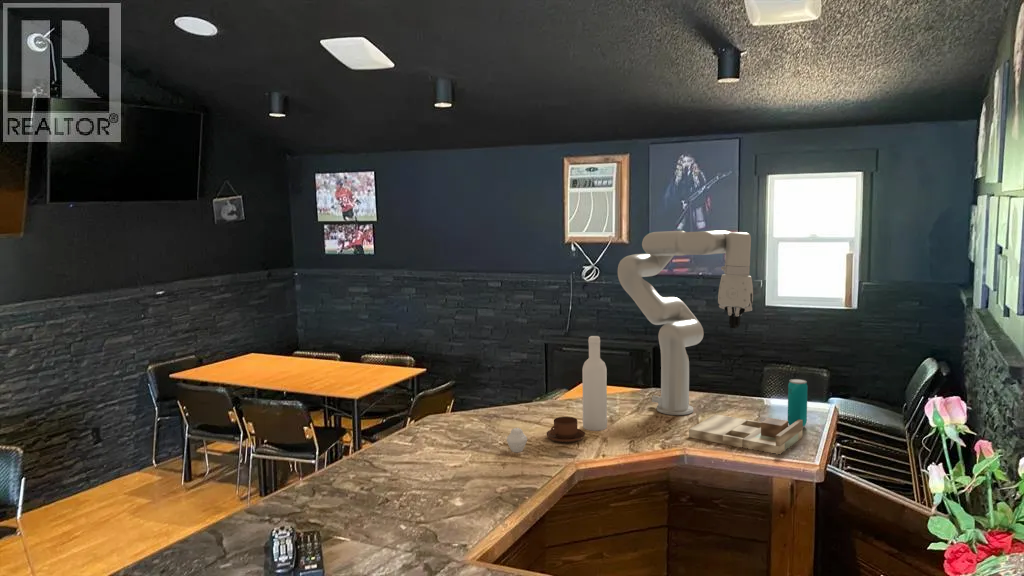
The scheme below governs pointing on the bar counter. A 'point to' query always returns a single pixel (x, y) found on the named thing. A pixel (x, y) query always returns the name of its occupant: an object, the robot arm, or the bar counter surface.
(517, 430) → the grey lidded jar
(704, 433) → the trap board
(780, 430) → the walnut block
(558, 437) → the cup and saucer
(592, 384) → the bottle
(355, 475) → the bar counter surface
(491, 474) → the bar counter surface
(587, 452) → the bar counter surface
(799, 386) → the beverage can
